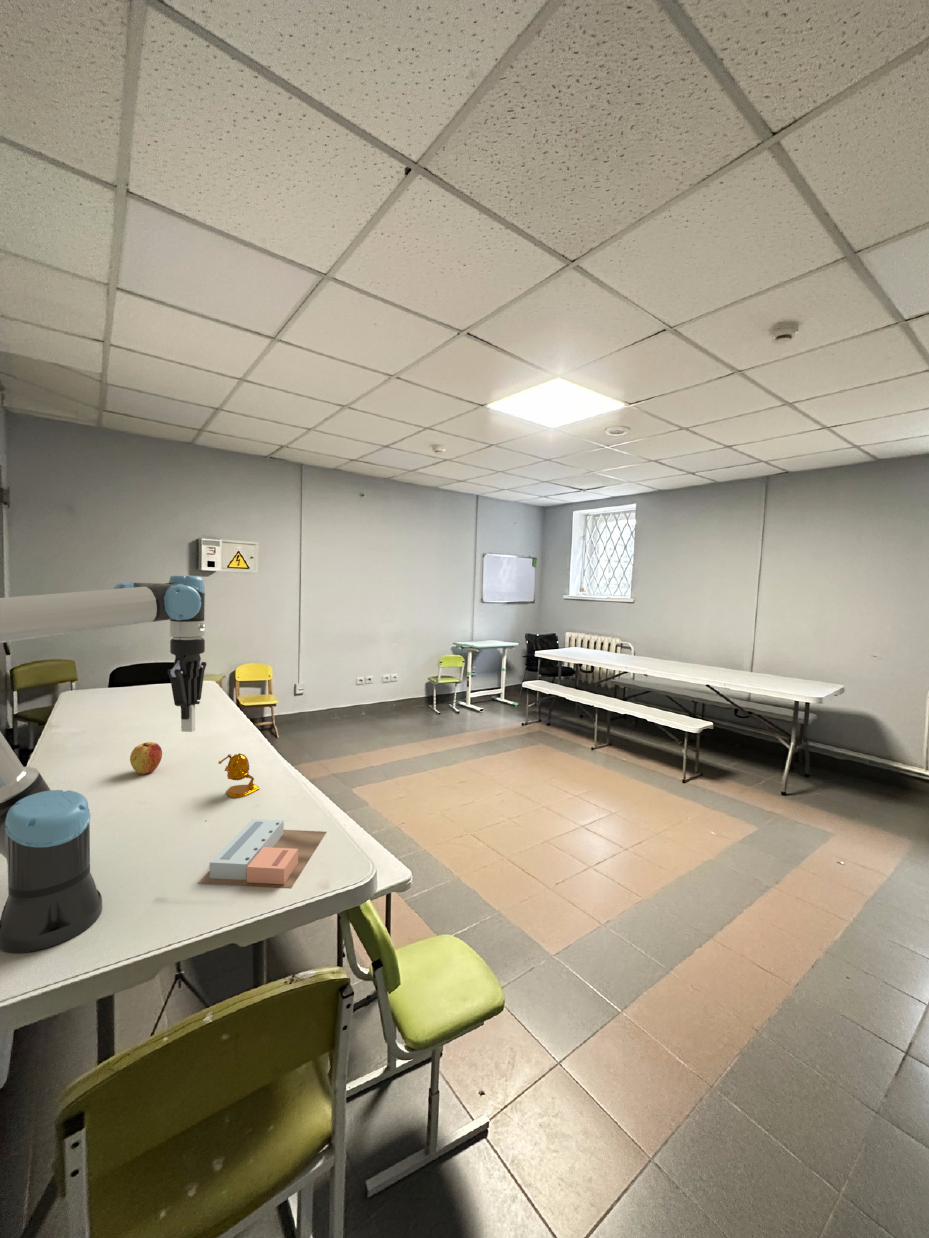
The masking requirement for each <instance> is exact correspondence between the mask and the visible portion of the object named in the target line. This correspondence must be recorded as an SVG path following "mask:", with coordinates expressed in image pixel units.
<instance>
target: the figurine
mask: <svg viewBox="0 0 929 1238" xmlns="http://www.w3.org/2000/svg"><path fill="white" fill-rule="evenodd" d="M228 758H229V761H228V764H227V766H225V768H224V772H227V779H228V780H231V781H241V780H244V779H250V780H249V782H248V784H237V785H233V786H230V787H229V788H227V790H226V795H227V796H228V797H229V798H231V799H242V798H245V797H247V796H249V795H251V794H253V793H256V792H257V791H259V790H260V787H259V786H258V785H257V784H255V783H254V780H255V777H253V776H252V775H250V772H249V771H250V762H249V759H248V758H247V756H246V755H245V754H243V753H238V754H237V753H235V754H234V755H233V756H232V754H230V753H229V754H227V755H226V756H225V757H224V758H222V759H221V760H218V762H217V764H218V765H219V764H220V765H221V764H222V763H223V762H224V761H226V760H228Z"/></svg>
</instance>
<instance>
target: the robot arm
mask: <svg viewBox="0 0 929 1238" xmlns="http://www.w3.org/2000/svg"><path fill="white" fill-rule="evenodd" d="M113 587H114V588H112V589H111V588H110V589H108V588H107V589H98V590H84V591H72V592H60V593H48V594H47V593H46V594H34V595H32V594H31V595H22V596H9V597H7V596H6V597H0V644H1V643H2V644H3V643H4V644H5V643H9V642H17V641H23V640H31V639H32V640H33V639H38V638H39V639H40V638H45V637H52V636H53V637H54V636H61V635H67V634H74V633H80V632H81V633H82V632H88V631H93V630H102V629H111V628H116V627H123V626H130V625H131V626H132V625H137V624H145V623H153V622H161V621H169V636H170V637H171V639H170V640H169V644H170V645H169V649H170V651H169V652H170V654H171V655H174V656H175V659H174V662H173V663H174V666H173V667H172V668H168V669H167V672H166V673H167V675H168V676H169V679H170V685H171V691H172V697H173V703H174V706H176V707H180V722H181V723H180V724H181V725H180V726H181V727H180V730H181V732H184V733H193V732H195V731H196V705H200V704H201V701H200V700H201V699H202V693H203V692H202V691H203V684H204V678H205V677H204V675H205V670H206V667H207V662H206V661H202V657H201V655H202V654H203V653H205V651H206V645H205V644H206V641H205V639H204V638H203V637H204V636H205V628H206V625H205V605H206V604H205V597H206V593H205V582H204V579H203V578H202V577H201V576H199V575H198V576H197V575H170V576H169V581H168V582H167V583H165V582H164V583H161V582H158V583H156V582H154V583H153V582H133V581H132V582H119V583H116V584H115V586H113ZM90 820H91V812H90V807H89V802H88V799H87V798H86V796H84V795H83V794H81V793H80V792H78V791H74V790H68V789H67V790H65V791H64V790H63V789H55V790H54V789H53V790H51V788H50V787H49V785H48V784H47V782H46V781H45V779H44V778H43V776H42V775H41V773H40V771H39V770H38V768H36V767H33V766H32V767H29V766H24V765H23V764H22V763H21V761H20V759H19V758H18V756H17V755H16V753H15V752H14V750H13V749H12V747H11V745H10V744H9V742H8V741H7V739H6V737H5V736H4V735H3V733H2V731H0V854H1V855H2V856H3V857H4V858H5V859H6V863H7V884H8V885H7V886H8V887H7V889H8V891H7V893H8V895H7V898H6V902H5V904H4V906H3V909H2V912H1V915H0V950H1V951H3V952H7V953H13V954H16V953H17V954H20V953H29V952H36V951H39V950H45V949H47V948H50V947H53V946H56V945H59V944H62V943H64V942H66V941H68V940H70V939H72V938H75V937H76V936H78V935H79V934H81V933H83V932H84V931H86V930H87V929H88V928H89V927H91V926H92V925H93V924H94V923H96V921H97V920H98V919H99V918H100V916H101V915H102V912H103V897H102V894H101V892H100V891H99V889H98V888H97V885H96V883H95V880H94V877H93V876H92V873H91V841H90V840H91V838H90V837H91V834H90V832H91V831H90V829H91V828H90V824H91V823H90Z"/></svg>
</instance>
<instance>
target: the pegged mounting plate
mask: <svg viewBox="0 0 929 1238" xmlns="http://www.w3.org/2000/svg"><path fill="white" fill-rule="evenodd" d="M284 823H285V821H284V820H283V819H267V818H266V819H264V818H263V819H262V818H252V819H250V821H249V822H248V823H247V824H245V826H244V827H242V829H241V830H240V831H239V832H238V833H237V834H236V835H235V836H234V837H233V838H232V839H231V840H230V841H229V842H228V843H227V844H226V845H225V846H224V847H223V848H222V849H221V850H220V851H219V852H218V853H217V855H215V856H214V857H213V858H212V860H211V861H209V871H210V878H216V879H235V880H247V866H248V865H249V864H250V863H251V861H252V860H253V859H254V858H255V857H256V855H257V854H258V853H259V852H260V851H261V849H262V848H263V847H271V848H272V847H273V846H274V845H275V844H276V842H277V841H278V840H279V839H280V837H281V836H282V835H283V834H284V830H285V829H284V827H285V825H284Z"/></svg>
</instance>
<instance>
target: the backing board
mask: <svg viewBox="0 0 929 1238" xmlns="http://www.w3.org/2000/svg"><path fill="white" fill-rule="evenodd" d="M327 833H328V832H327V831H323V830H321V831H319V830H300V829H299V830H298V829H297V830H296V829H284V834H283V835H282V836H281V837H280V839H279V840H278V841H277V842H276V844H275V845H274V846H273V847H272V848H292V849H298V864H297V866H296V867H295V869H294V870H293V872H292V873H291V875H290V876H289V878H288V879H287V881H286V882H285V884H268V883H249V882H247V880H235V879H216V878H210V870H209V871H208V872H207V873H206V874H204V876H203V877H202V878H201V879H200V880H199V881H198V882H197V884H198V885H215V886H217V885H218V886H219V885H221V886H238V887H256V888H275V889H276V888H278V889H292V888H293V887H294V885H295V884H296V881H297V880H298V879H299V877H300V876H301V875H302V874H301V873H303V871H304V869H305V867H306V866H307V864H308V862H310V859H311V858H312V856H313V854H314V853H315V852H316V850H317V849H318V847H319V845H320V844H321V842H322V840H323V839H324V837H325V835H326V834H327Z"/></svg>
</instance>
